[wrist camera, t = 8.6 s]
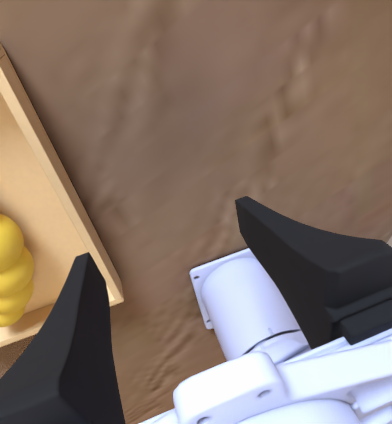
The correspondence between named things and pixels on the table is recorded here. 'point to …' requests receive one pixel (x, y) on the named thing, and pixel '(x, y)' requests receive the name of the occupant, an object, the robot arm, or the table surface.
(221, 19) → the table surface
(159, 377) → the table surface
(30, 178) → the tray
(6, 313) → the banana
